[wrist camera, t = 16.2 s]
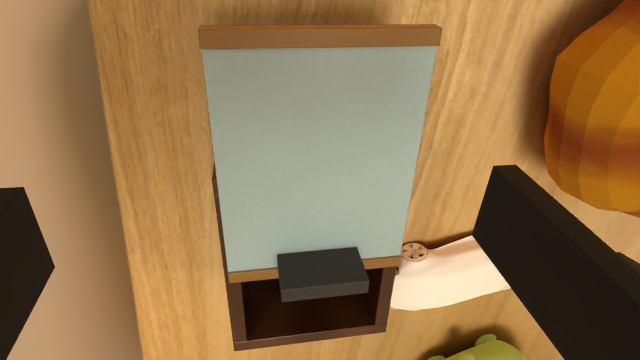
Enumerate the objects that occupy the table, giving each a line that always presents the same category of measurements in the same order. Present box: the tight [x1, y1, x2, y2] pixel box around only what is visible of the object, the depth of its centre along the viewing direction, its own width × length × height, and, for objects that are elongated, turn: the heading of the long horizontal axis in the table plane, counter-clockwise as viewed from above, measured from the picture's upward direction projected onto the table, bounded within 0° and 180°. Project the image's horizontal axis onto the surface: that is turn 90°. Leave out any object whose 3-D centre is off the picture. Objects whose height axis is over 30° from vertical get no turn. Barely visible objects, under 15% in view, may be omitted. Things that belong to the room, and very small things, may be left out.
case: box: [212, 161, 397, 351], centre depth 37 cm, size 14×18×9 cm
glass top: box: [198, 24, 442, 302], centre depth 26 cm, size 13×18×4 cm
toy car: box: [390, 235, 511, 311], centre depth 46 cm, size 18×8×4 cm, turn 96°
